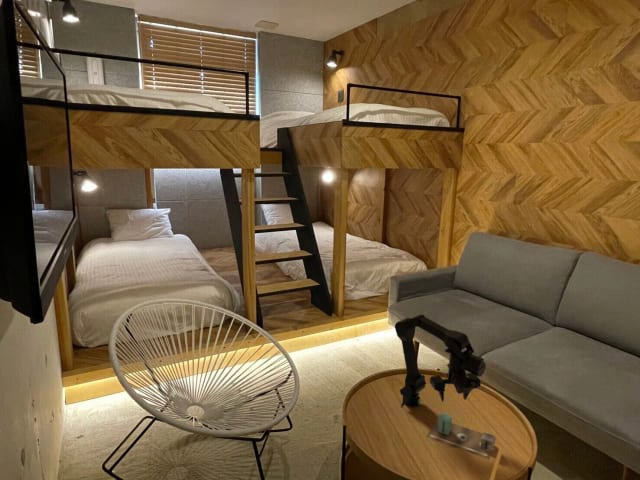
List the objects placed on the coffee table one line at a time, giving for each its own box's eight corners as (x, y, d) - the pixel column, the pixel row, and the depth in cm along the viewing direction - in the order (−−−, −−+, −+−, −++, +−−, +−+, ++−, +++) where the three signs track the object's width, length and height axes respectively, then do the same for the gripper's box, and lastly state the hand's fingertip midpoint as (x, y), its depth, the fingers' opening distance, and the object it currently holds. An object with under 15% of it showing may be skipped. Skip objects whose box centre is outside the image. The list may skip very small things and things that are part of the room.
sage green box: (437, 431, 169) (438, 418, 168) (440, 425, 173) (441, 412, 171) (448, 435, 167) (448, 422, 166) (451, 429, 171) (451, 416, 169)
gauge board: (426, 439, 168) (427, 428, 166) (436, 420, 178) (437, 409, 177) (490, 462, 156) (491, 450, 154) (497, 440, 166) (498, 429, 165)
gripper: (441, 378, 158) (438, 415, 162) (490, 375, 160) (485, 411, 164) (430, 362, 169) (427, 397, 173) (475, 359, 171) (472, 393, 175)
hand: (453, 400), depth 171 cm, fingers open, 9 cm apart
